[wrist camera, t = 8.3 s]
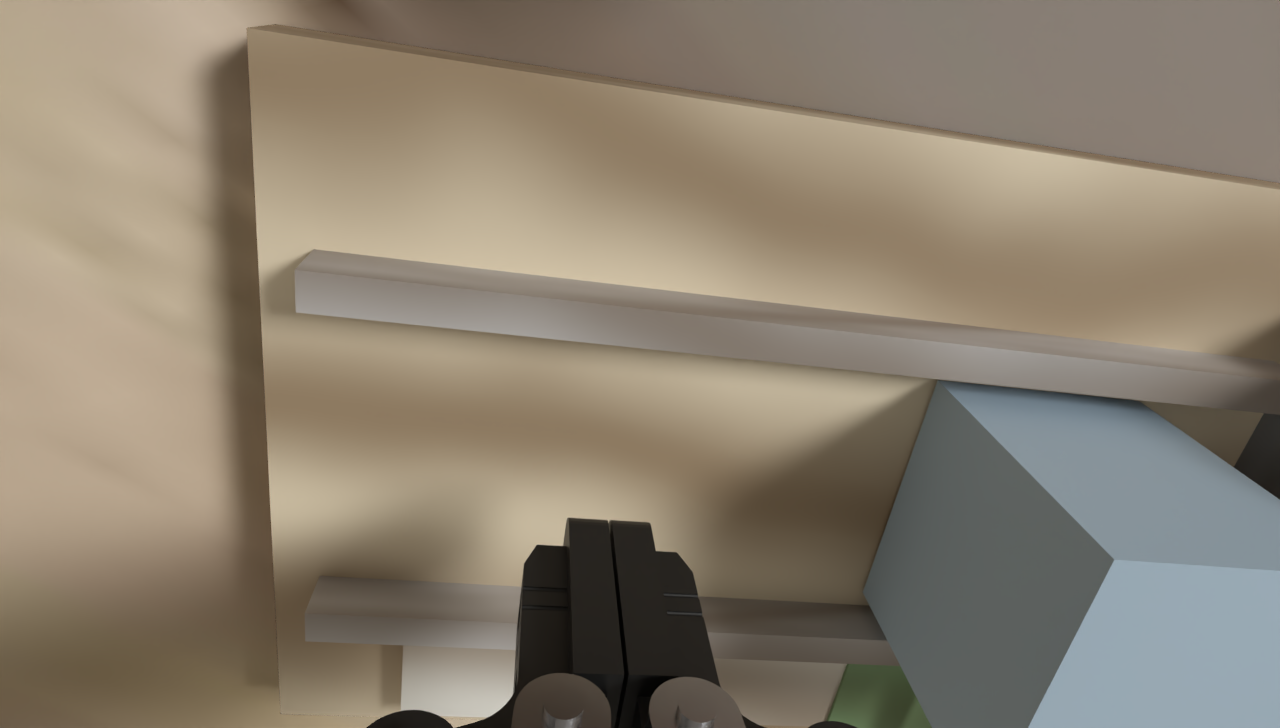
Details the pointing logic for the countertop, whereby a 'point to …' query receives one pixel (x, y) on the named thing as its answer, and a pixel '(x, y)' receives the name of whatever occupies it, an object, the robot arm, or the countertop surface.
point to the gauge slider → (1077, 569)
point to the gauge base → (679, 351)
